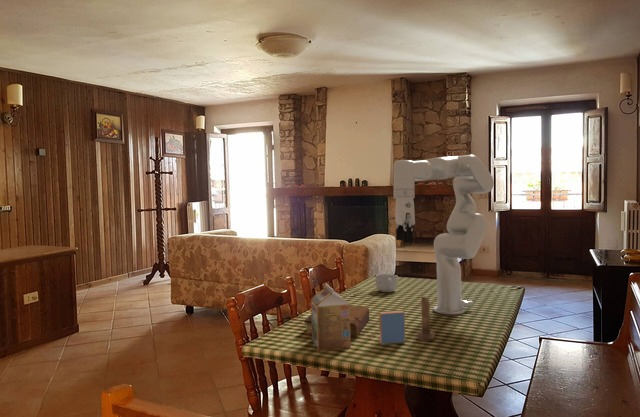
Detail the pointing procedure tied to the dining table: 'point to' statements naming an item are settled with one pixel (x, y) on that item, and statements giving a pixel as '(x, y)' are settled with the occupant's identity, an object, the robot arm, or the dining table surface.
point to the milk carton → (330, 320)
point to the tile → (392, 327)
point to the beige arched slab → (357, 320)
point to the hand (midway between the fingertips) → (404, 241)
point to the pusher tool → (426, 321)
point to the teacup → (386, 282)
